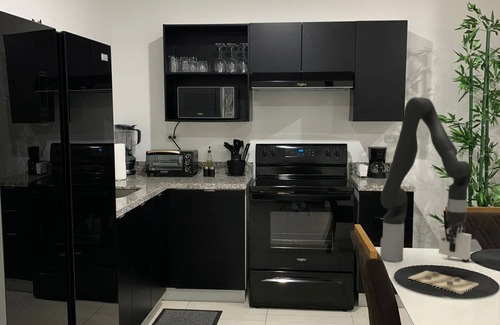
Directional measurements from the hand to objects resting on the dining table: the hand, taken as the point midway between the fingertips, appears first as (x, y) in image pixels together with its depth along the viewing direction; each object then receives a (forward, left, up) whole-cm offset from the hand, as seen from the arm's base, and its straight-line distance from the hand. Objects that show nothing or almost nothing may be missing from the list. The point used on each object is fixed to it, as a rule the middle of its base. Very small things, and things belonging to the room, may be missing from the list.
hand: (454, 250), depth 207 cm
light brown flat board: (+2, -13, -10) cm, 17 cm away
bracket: (-14, +21, -8) cm, 27 cm away
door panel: (0, 0, -2) cm, 2 cm away
